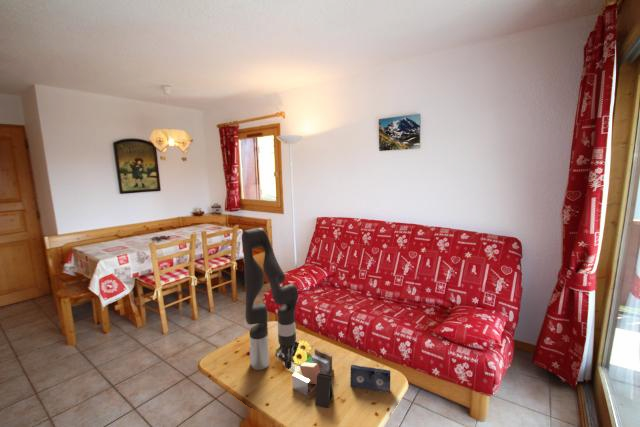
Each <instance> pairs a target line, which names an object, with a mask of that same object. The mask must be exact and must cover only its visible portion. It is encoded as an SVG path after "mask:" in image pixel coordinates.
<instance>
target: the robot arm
mask: <svg viewBox="0 0 640 427" xmlns="http://www.w3.org/2000/svg"><path fill="white" fill-rule="evenodd" d="M241 246H242V247H241V248H242V252H243V253H242V254H243V264H244V266H243V267H244V287H245V321H246V323H247V324H248V325H254V326H252V327H251V328H250V329H249V343H250V344H249V345H250V347H249V350H248V351H249V363H250V364H249V365H251V368H252V369H253V370H256V371H262V370H265V369H267V368H268V367H269V365H270V350H269V330H268V329H269V328H268V306H267V305H266V304H265V303H258V304H254V302H255V300H256V298H257V297H258V296H259V295H260V292H261V291H262V290H263V287H264V284H265V276H266V278H267V280H268V282H269V285H270V289H271V293H272V294H271V295H272V300H273V302H274V303H275V304H276V305H278V306H281V307H279V308H278V309H277V310H278V311H277V337H278V344H279V349H278V350H279V351H278V352H277V353H276V354H274V355H275V357H276V358H277V359H278V360H279V361H281V362H283V363H284V368H285V369H287V370H290V369H291V368H292V365H293V364H292V360H293V357H295V356H296V352H297V351H298V347H299V346H300V345H299V344H300V342H298V341H297V329H296V328H297V327H296V318H295V313H296V312H295V310H296V307H297V303H298V298H299V290H298V288H297V286H296V285H295V284H293V283H289V284H285V285H282V286H280V285H281V284H283V283H284V282H285V280H286V275H285V274H284V271H283V269H282V268H281V266H280V264H279V262H278V260H277V258H276V255H275V252H274V249H273V247H272V244H271V241H270V238H269V236H268V234H267V232H266V230H265V229H264V228H263V227H256V228H250V229H246V230H244V231H242V234H241ZM259 248H262V249H263V251H264V258H263V264H262V265H263V268H262V266H261V265H260V263H258V262H257V260H256V259H255V257H254V255H253V254H254V253H253V250H254V249H259Z"/></svg>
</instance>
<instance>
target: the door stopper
mask: <svg viewBox="0 0 640 427" xmlns="http://www.w3.org/2000/svg"><path fill="white" fill-rule="evenodd" d="M333 395H334V388H333V382H332V377H331V375H326V374H321V373H318V375H317V386H316V393H315V400H314V405H315V406H319V407H322V408H329V407H330V404H331V401H332V399H333Z"/></svg>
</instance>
